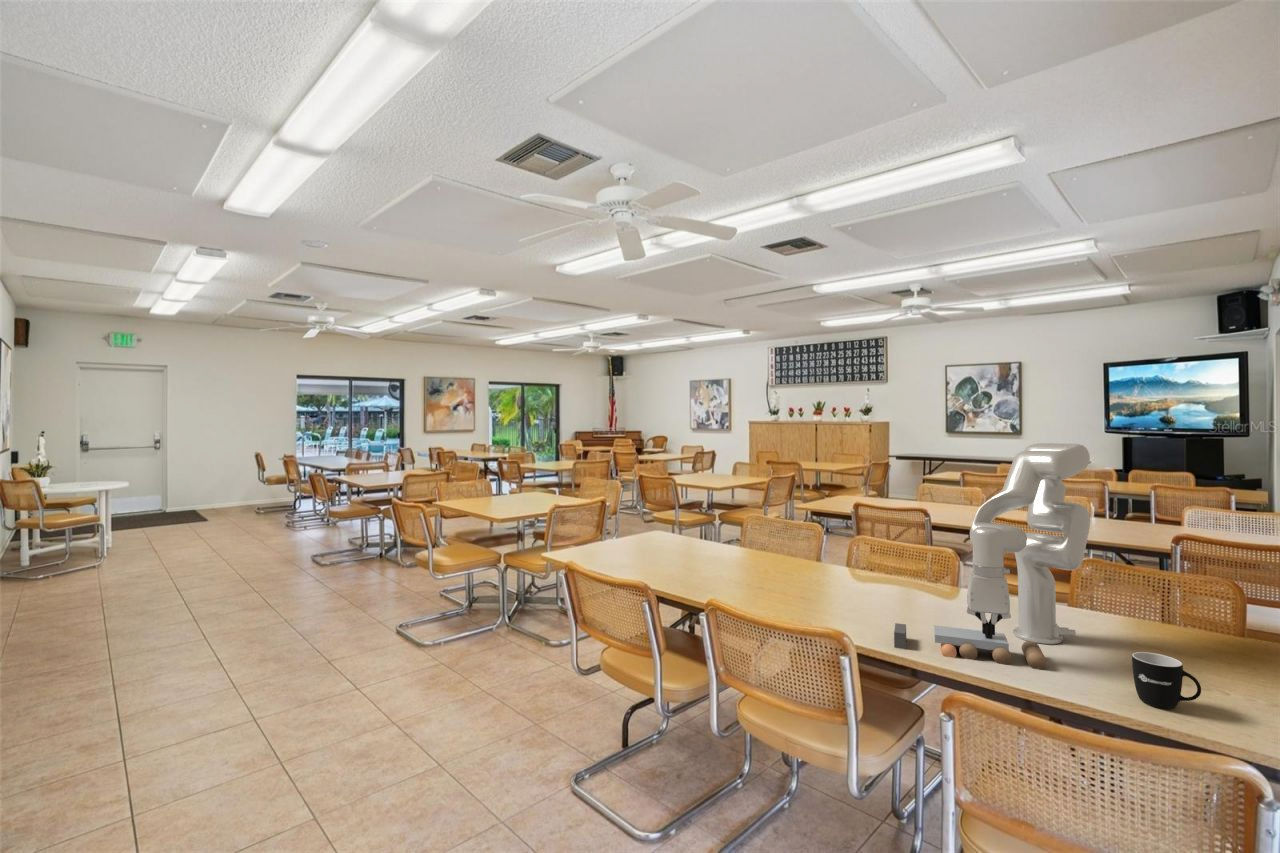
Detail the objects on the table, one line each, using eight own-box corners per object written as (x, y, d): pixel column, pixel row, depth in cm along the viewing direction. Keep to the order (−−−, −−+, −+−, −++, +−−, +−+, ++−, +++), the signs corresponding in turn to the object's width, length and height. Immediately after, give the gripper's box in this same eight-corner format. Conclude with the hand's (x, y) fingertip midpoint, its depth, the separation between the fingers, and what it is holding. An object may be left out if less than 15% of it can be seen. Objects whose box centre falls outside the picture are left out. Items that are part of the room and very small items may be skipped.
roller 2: (959, 648, 174) (955, 633, 175) (976, 647, 172) (972, 632, 173) (961, 660, 165) (957, 644, 166) (979, 659, 163) (975, 643, 164)
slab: (1004, 641, 169) (1004, 633, 169) (1008, 651, 161) (1008, 643, 161) (934, 632, 177) (934, 625, 177) (935, 642, 169) (934, 634, 169)
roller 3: (1021, 655, 168) (1021, 640, 168) (1040, 657, 166) (1039, 641, 166) (1027, 668, 159) (1026, 652, 159) (1047, 670, 157) (1046, 654, 157)
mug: (1128, 701, 139) (1128, 658, 139) (1136, 690, 145) (1135, 649, 145) (1199, 720, 130) (1198, 674, 130) (1204, 707, 136) (1203, 663, 136)
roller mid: (992, 653, 171) (986, 638, 171) (1009, 651, 169) (1003, 635, 170) (996, 666, 162) (990, 649, 162) (1013, 663, 160) (1008, 647, 161)
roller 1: (938, 636, 176) (951, 632, 175) (943, 648, 176) (957, 645, 174) (938, 647, 167) (952, 643, 166) (945, 660, 167) (959, 657, 165)
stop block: (906, 640, 180) (906, 624, 180) (905, 650, 172) (905, 633, 172) (895, 639, 181) (895, 623, 181) (894, 649, 173) (894, 632, 173)
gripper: (1017, 571, 167) (1018, 636, 167) (957, 566, 173) (957, 629, 173) (1021, 577, 160) (1022, 645, 160) (958, 571, 167) (959, 637, 166)
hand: (988, 636), depth 166 cm, fingers closed
